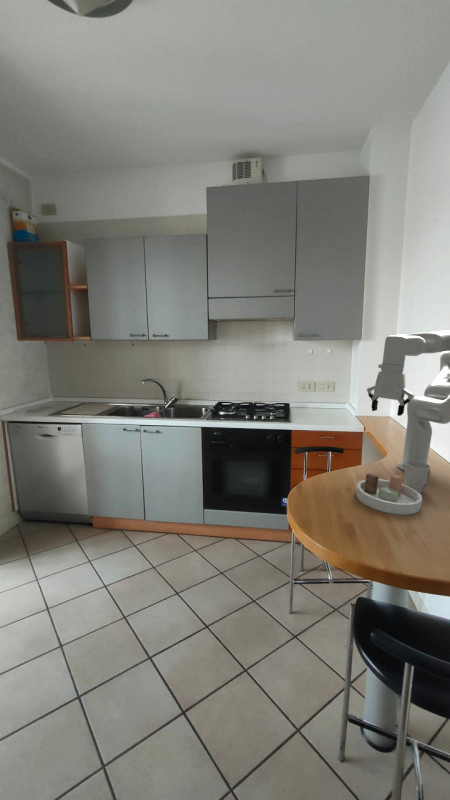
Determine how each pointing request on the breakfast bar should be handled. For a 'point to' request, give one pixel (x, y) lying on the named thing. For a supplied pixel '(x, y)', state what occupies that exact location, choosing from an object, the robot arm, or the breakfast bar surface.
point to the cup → (416, 475)
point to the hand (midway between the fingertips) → (386, 412)
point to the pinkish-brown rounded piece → (396, 483)
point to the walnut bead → (371, 483)
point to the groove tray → (396, 507)
